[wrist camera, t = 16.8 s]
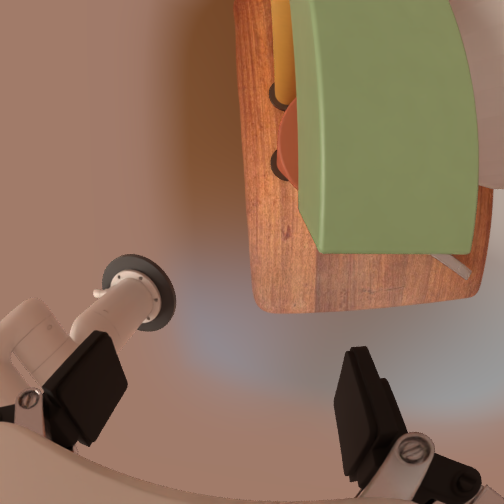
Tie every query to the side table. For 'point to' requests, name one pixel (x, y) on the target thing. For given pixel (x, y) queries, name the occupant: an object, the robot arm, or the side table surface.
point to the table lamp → (486, 80)
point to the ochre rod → (282, 56)
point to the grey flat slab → (453, 264)
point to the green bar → (384, 127)
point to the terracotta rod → (287, 147)
